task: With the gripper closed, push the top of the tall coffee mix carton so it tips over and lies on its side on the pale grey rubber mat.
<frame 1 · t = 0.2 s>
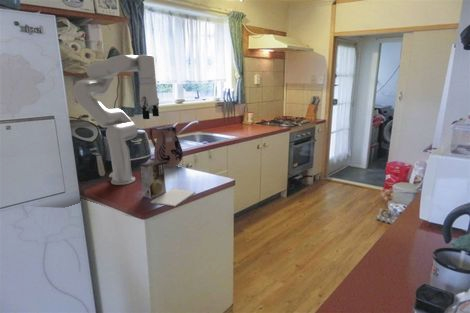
hand: (151, 117, 159), 36 cm above the countertop, tool pointing down, fingers open, 9 cm apart
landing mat: (173, 197, 153), on the countertop
coffee box: (154, 195, 157), on the countertop
ceramic pitcher: (166, 166, 206), on the countertop
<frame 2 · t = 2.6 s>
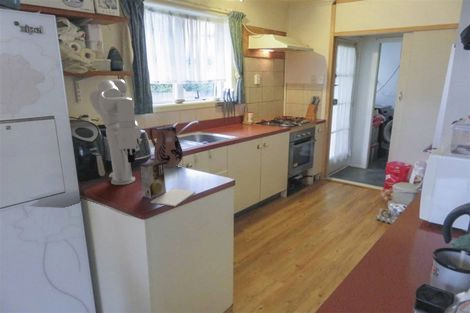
hand: (131, 162, 157), 16 cm above the countertop, tool pointing down, fingers closed
nothing on the countertop moved.
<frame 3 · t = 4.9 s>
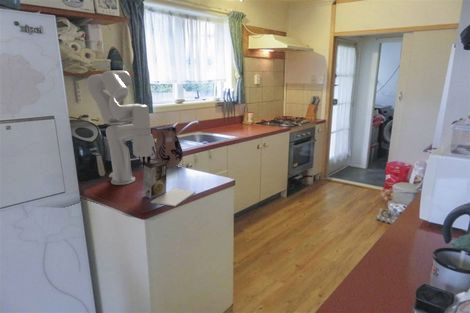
hand: (146, 169, 155), 12 cm above the countertop, tool pointing down, fingers closed
coffee box: (154, 194, 157), on the countertop, touching gripper
everything else where it was.
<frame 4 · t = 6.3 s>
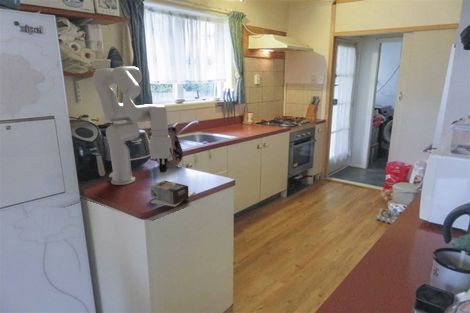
hand: (163, 171, 151), 12 cm above the countertop, tool pointing down, fingers closed
coffee box: (157, 188, 154), point 4 cm above the countertop, touching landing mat
everything else where it was.
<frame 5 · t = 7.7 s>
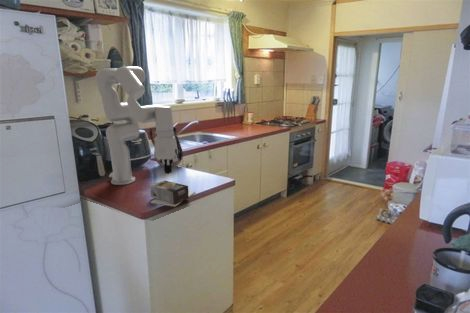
hand: (168, 172, 150), 12 cm above the countertop, tool pointing down, fingers closed
nothing on the countertop moved.
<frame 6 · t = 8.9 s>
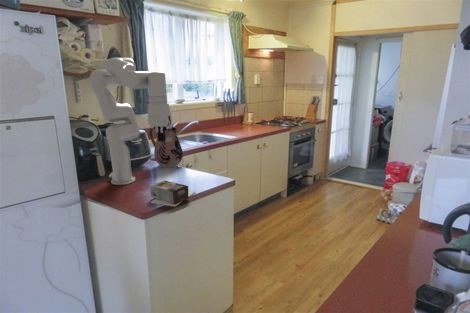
hand: (161, 140, 148), 27 cm above the countertop, tool pointing down, fingers closed
nothing on the countertop moved.
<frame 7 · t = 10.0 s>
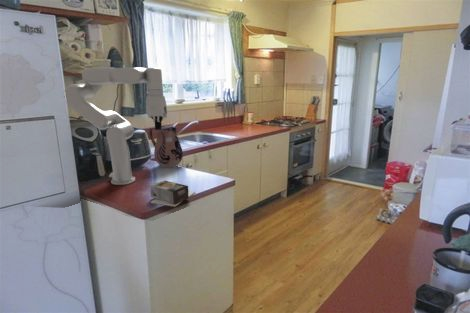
hand: (158, 129, 167), 29 cm above the countertop, tool pointing down, fingers closed
nothing on the countertop moved.
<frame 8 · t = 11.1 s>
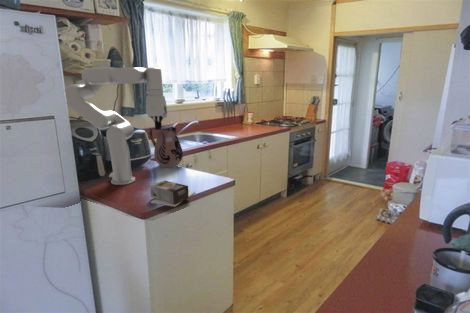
hand: (158, 128, 167), 29 cm above the countertop, tool pointing down, fingers closed
nothing on the countertop moved.
at the end: coffee box tilted 90°; coffee box touching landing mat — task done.
